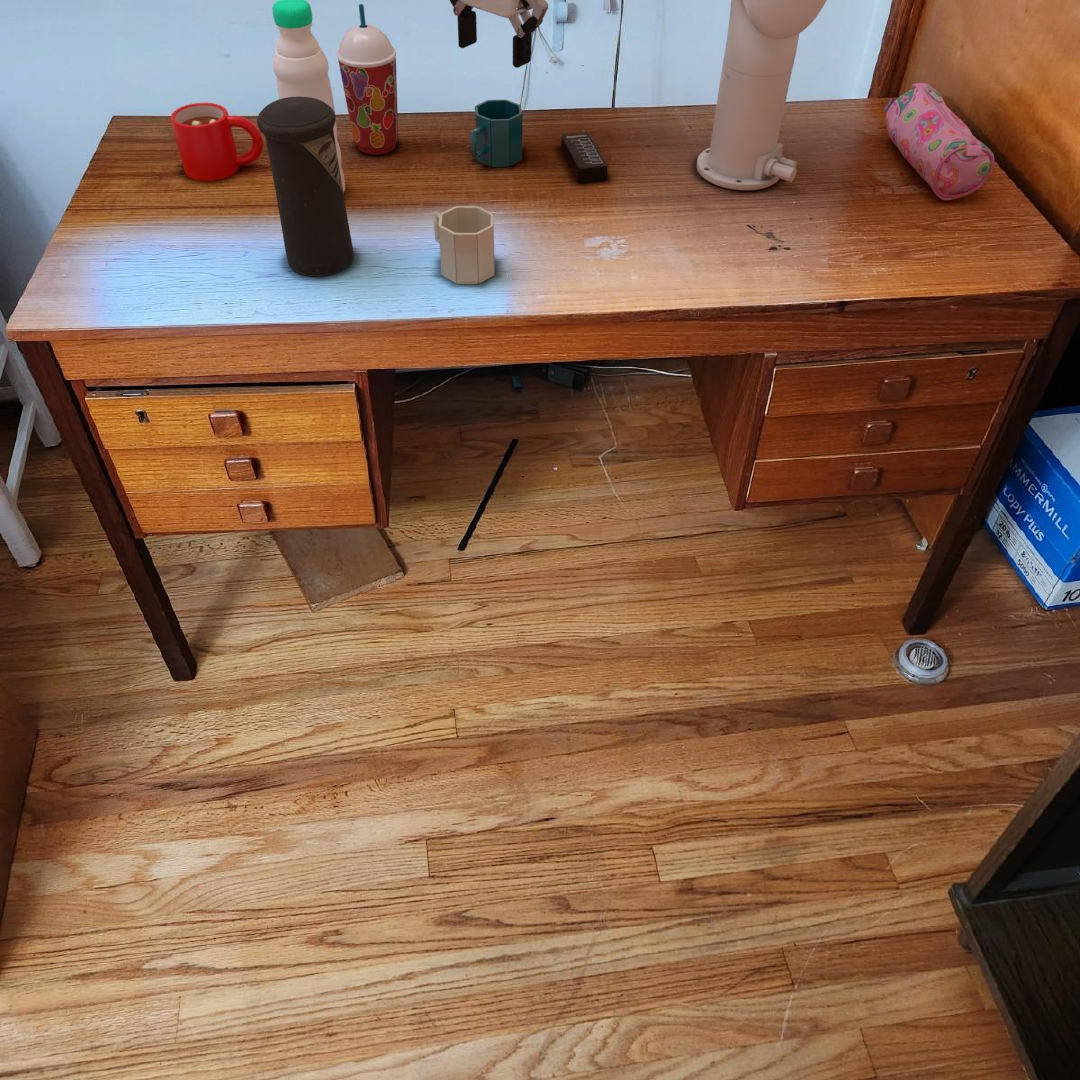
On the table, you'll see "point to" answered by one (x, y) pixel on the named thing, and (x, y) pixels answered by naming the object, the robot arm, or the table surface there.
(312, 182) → the container
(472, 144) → the cup far
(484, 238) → the cup near
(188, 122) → the mug
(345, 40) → the smoothie
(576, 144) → the multiport hub
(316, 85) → the water bottle
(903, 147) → the pencil case
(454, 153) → the table surface
